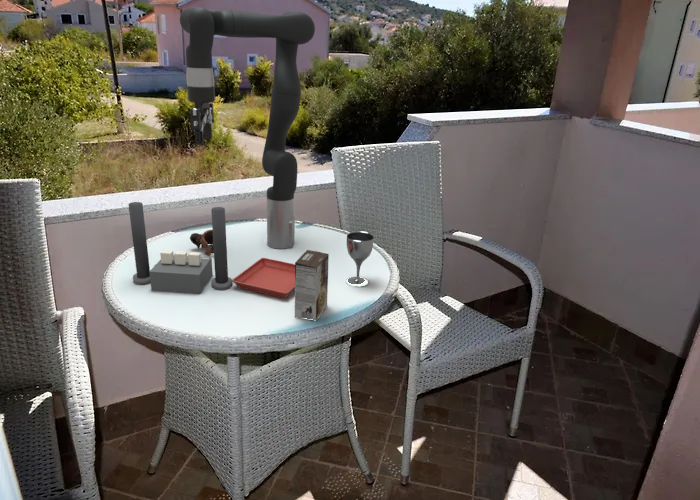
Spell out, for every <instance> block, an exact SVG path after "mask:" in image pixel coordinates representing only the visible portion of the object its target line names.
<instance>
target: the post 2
mask: <svg viewBox="0 0 700 500" xmlns="http://www.w3.org/2000/svg"><path fill="white" fill-rule="evenodd" d="M210 211H211V223H212V225H211V227H212V229H211V230H213V244H212V245H213V247H214V253H213V259H214V260H213V262H214V263H213V264H214V278H211V279H210V282H211V284H210V285H211V288H212V289H213V290H217V291H225V290H228V289H231V288H232V287H233V283H234V282H233V281H232V280H233V278H232V277H229V268H228V253H227V252H228V251H227V248H228V247H227V246H228V245H227V229H226V228H227V227H226V226H227V225H226V208H225V207H223V206H221V207H220V206H216V207H212V208H211V210H210Z"/></svg>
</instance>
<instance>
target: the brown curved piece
mask: <svg viewBox="0 0 700 500" xmlns="http://www.w3.org/2000/svg"><path fill="white" fill-rule="evenodd" d="M189 240H190V242H191V243H192V244H194V245H195V246H196V247H197V249H200V248H204V249H205V252H204V254H205V255H206V256H207V257H210V256H211V255H214V247H213V229H207V230H205V231H204V232H203V233H202V234H201V233H199V232H198V233H197V232H194V233H191V235H190V236H189ZM209 245H210V246H209Z"/></svg>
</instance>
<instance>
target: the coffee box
mask: <svg viewBox="0 0 700 500" xmlns="http://www.w3.org/2000/svg"><path fill="white" fill-rule="evenodd" d="M329 255H330V254H329V253H326V252H321V251H317V250H311V249H306V251H305V252H304V253H303V254H301V256H300V257H299V258H298V259H297V260H296V261H295V262H294V264H295V289H294V318H296V317H297V318H296V319H300V318H307V319H313V320H317V319H318V320H319V318H320V317H321V315H322V314H323V313H322V312H324V311H325V310H326V308H327V307H328V290H329V289H328V286H329ZM324 309H325V310H324ZM321 313H322V314H321ZM319 316H320V317H319ZM318 317H319V318H318ZM318 320H317V321H318Z"/></svg>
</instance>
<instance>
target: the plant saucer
mask: <svg viewBox="0 0 700 500" xmlns="http://www.w3.org/2000/svg"><path fill="white" fill-rule="evenodd" d="M232 283H234V284H235V285H236V286H237V287H239V288H240V289H244V290H248V291H253V292H256V293H257V292H258V293H261V294H266V295H269V296H273V297H277V298H284V299H285V298H287V297H288V295H290V294H291V293H292V292H293V291H295V263H290V262H286V261H280V260H276V259H272V258H267V257H261V258H260V259H258V260H257V261H256V262H254V263H253V264H251V265H250V266H248V267H247V268H246V269H245V270H243V271H242V272H241V273H239V274H238V275H237V276H235V277H234V278H232Z"/></svg>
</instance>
